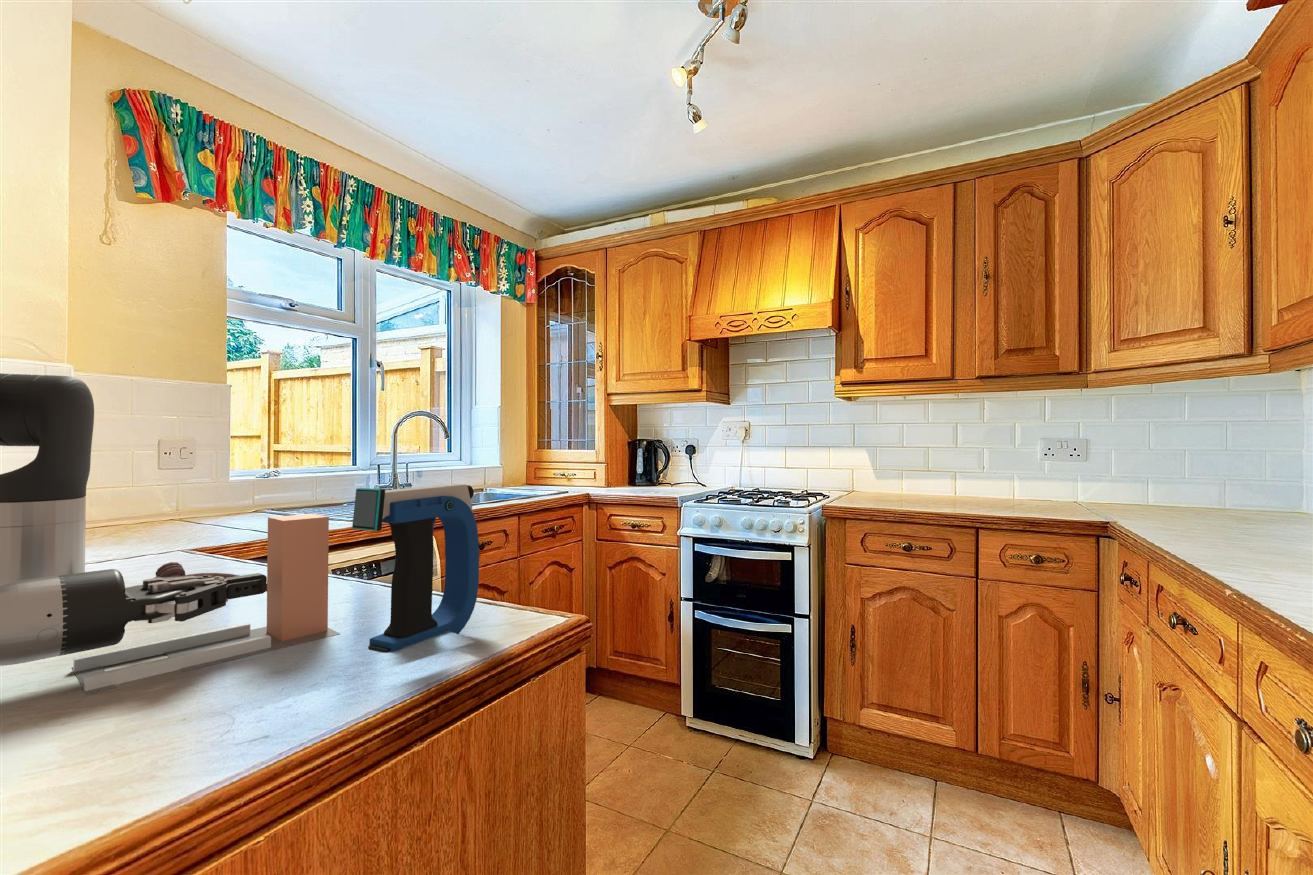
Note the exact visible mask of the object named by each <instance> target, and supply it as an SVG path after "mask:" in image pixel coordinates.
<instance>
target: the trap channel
mask: <svg viewBox="0 0 1313 875" xmlns="http://www.w3.org/2000/svg"><path fill="white" fill-rule="evenodd" d="M338 635H341V632H338V631H336V630H334V629H331V628H329V627H328V631H324V632H319V633H315V634H311V635H306V636H302V637H298V638H293V639H289V640H285V641H280V640H279V639H277V638H275V637H274V636H272V635H270V634H269V633H267V626H263V627H258V628H252V629H251V623H249V622H246V623H242V624H237V625H233V626H232V625H231V626H227V627H223V628H218V629H211V630H207V631H202V632H198V633H192V634H188V635H182V636H177V637H173V638H168V639H163V640H158V641H152V642H147V643H143V644H139V645H133V646H128V647H121V648H118V649H113V650H112V649H111V650H107V651H102V652H98V653H93V654H88V655H84V656H83V655H82V656H79V657H73V659H72V660H73V666H72V667H71V669H72V671H73V673H74V674H75V677H76V678H77V680H78V682H79V683H80V685H81V687H82V689H83V691H84V693H85V694H86V696H88V695H93V694H97V693H101V692H105V691H110V690H115V689H117V686H116V685H120V684H123V683H127V682H128V683H129V682H131V681H136V680H140V679H145V678H149V677H153V676H157V675H161V674H165V673H171V672H175V671H179V670H181V671H182V672H188V671H193V670H196V669H200V668H201V669H202V668H205V667H210V666H213V665H217V664H221V663H222V664H223V663H226V662H231V661H234V660H238V659H242V658H247V657H250V656H255V655H258V654H259V655H261V654H264V653H268V652H270V651H271V652H272V651H275V650H276V651H277V650H279V649H284V648H288V647H293V646H297V645H300V644H306V643H309V642H313V641H317V640H322V639H326V638H330V637H333V636H338ZM163 654H164V655H166V656H167V657H164V658H160V659H154V660H150V661H145V662H141V663H137V664H132V665H126V666H123V667H119V668H114V669H113V668H112V669H109V670H105V669H104V667H107V666H113V665H115V664H121V663H126V662H130V661H135V660H139V659H140V660H141V659H144V658H148V657H149V658H150V657H154V656H158V655H163Z"/></svg>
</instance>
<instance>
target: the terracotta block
mask: <svg viewBox="0 0 1313 875" xmlns="http://www.w3.org/2000/svg"><path fill="white" fill-rule="evenodd" d="M329 519H330V516H327V515H323V514H316V513H305V514H293V515H279V516H268V517H267V551H266V552H267V556H266V557H267V558H266V559H267V561H266V564H267V566H266V567H267V568H266V571H267V573H266V575H267V576H266V577H267V592H266V627H267V633H269V634H270V635H272V636H274V637H275V638H277V639H279V640H280V641H285V640H289V639H293V638H298V637H302V636H306V635H311V634H315V633H319V632H324V631H328V628H329V627H328V625H329V622H328V621H329V618H328V617H329V540H330V539H329V536H330V535H329V532H330V531H329V530H330V529H329V525H330V524H329V522H330V520H329Z"/></svg>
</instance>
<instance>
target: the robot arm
mask: <svg viewBox="0 0 1313 875" xmlns="http://www.w3.org/2000/svg"><path fill="white" fill-rule="evenodd" d="M94 425H95V404H94V398H93V394H92V392H91V390H90V388H89V386H88V385H87V384H86V382H84V381H83V380H81V378H77V377H75V376H68V375H55V374H53V375H52V374H51V375H49V374H26V373H25V374H22V373H21V374H19V373H17V374H16V373H0V446H1V447H38V449H37V454H36V457H35V458H34V459H33V460H32V461H31V462H28V463H27V464H26V465H23V466H22V467H19V468H16V469H14V470H10V471H8V472H4V473H0V667H4V666H13V665H19V664H27V663H30V662H36V661H40V660H45V659H51V658H55V657H61V656H66V655H72V654H75V653H82V652H86V651H90V650H97V649H102V648H106V647H107V648H108V647H111V646H115V645H118V644H119V643H121V641H122V640H123V638H124V636H125V633H126V632H125V631H126V629H125V627H126V625H127V624H128V623H131V622H133V621H134V622H140V621H147V624H158V623H162V622H166V621H167V622H168V621H169V620H171V619H172V618H174V621H175V622H186V621H188V620H190V619H193V618H196V617H198V616H201V615H205V614H207V613H210V612H213V611H215V610H218V609H221V608H223V607H225V606H227V602H229V600H234V599H239V598H245V597H251V596H255V595H261V594H262V595H263V594H265V593H267V592H266V590H267V576H266V575H265V574H263V573H261V572H256V573H250V574H243V575H240V576H235V577H228V578H225V579H224V577H220V576H215V577H213V578H212V576H211V575H203V576H182V577H156V576H155V577H153V578H147V579H146V578H145V579H143V580H142V584H139V585H133V586H127V587H126V585H125V579H124V576H123V574H122V573H121V571H119V569H115V568H110V569H102V570H93V571H86V526H87V525H86V523H87V522H86V521H87V519H86V506H87V505H86V503H87V502H86V500H87V485H88V481H89V477H90V472H91V458H92V447H93V446H92V445H93V437H94V436H93V435H94Z"/></svg>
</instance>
